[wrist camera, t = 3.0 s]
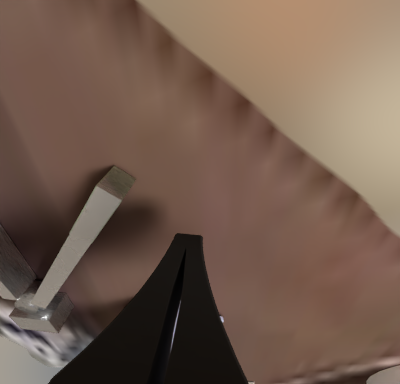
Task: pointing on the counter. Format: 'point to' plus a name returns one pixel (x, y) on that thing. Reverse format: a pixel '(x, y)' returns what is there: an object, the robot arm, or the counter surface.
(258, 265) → the counter surface
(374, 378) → the white stepped block
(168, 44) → the counter surface
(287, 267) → the counter surface
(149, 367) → the robot arm
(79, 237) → the bar
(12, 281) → the arm
